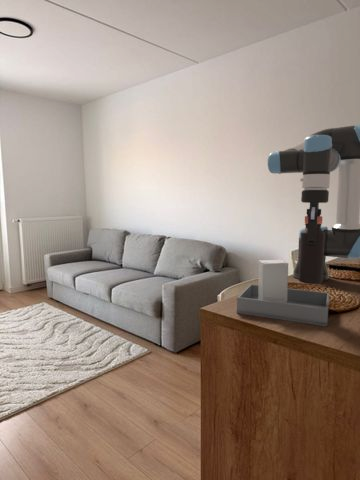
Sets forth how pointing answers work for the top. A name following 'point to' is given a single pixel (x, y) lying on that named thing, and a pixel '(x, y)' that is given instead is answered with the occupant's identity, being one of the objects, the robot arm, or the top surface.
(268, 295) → the skincare box
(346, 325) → the top surface
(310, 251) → the vinegar
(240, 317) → the top surface
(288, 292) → the tray
